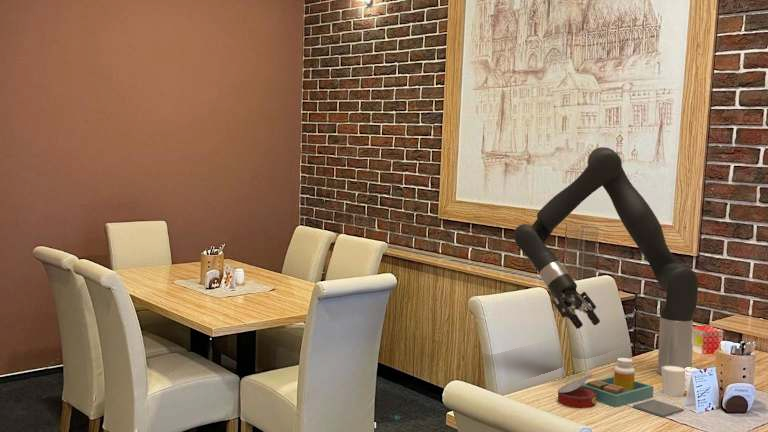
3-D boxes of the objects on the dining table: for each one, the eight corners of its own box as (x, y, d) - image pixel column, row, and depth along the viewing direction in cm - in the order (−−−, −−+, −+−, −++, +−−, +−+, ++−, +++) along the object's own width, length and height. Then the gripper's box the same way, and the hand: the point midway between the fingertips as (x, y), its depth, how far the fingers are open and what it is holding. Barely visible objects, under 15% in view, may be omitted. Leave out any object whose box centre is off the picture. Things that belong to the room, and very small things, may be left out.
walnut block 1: (596, 394, 206) (596, 379, 206) (608, 398, 203) (608, 383, 203) (586, 396, 204) (587, 382, 204) (598, 400, 201) (599, 385, 200)
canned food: (579, 426, 194) (569, 396, 190) (554, 410, 203) (544, 381, 199) (610, 402, 198) (601, 372, 194) (584, 387, 206) (575, 359, 203)
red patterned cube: (687, 348, 259) (688, 326, 259) (706, 347, 261) (707, 325, 261) (702, 354, 252) (703, 331, 251) (722, 353, 254) (723, 330, 253)
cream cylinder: (687, 391, 210) (688, 367, 209) (685, 398, 204) (687, 373, 203) (661, 388, 213) (662, 363, 212) (659, 394, 207) (660, 369, 206)
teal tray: (616, 385, 214) (616, 375, 214) (652, 396, 204) (653, 386, 204) (579, 394, 205) (579, 384, 205) (615, 407, 195) (616, 396, 195)
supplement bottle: (634, 397, 203) (636, 362, 203) (614, 396, 204) (615, 361, 204) (632, 391, 209) (633, 357, 208) (612, 390, 210) (613, 356, 209)
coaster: (653, 401, 200) (653, 399, 200) (683, 411, 193) (683, 408, 193) (632, 407, 195) (632, 405, 195) (662, 417, 188) (663, 415, 188)
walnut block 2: (609, 398, 203) (610, 383, 202) (623, 401, 200) (624, 387, 200) (602, 401, 200) (603, 387, 200) (617, 405, 197) (617, 390, 197)
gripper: (551, 274, 215) (583, 320, 207) (580, 270, 224) (611, 315, 216) (535, 289, 219) (565, 335, 211) (564, 285, 229) (594, 329, 221)
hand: (589, 325), depth 214 cm, fingers open, 8 cm apart
